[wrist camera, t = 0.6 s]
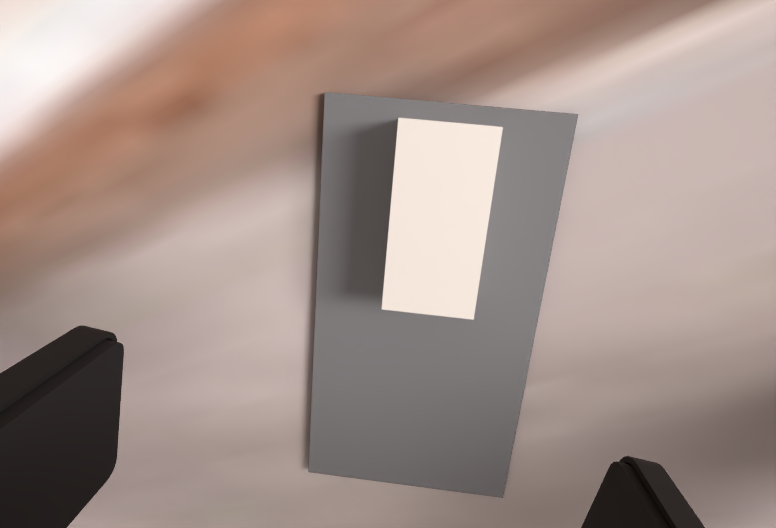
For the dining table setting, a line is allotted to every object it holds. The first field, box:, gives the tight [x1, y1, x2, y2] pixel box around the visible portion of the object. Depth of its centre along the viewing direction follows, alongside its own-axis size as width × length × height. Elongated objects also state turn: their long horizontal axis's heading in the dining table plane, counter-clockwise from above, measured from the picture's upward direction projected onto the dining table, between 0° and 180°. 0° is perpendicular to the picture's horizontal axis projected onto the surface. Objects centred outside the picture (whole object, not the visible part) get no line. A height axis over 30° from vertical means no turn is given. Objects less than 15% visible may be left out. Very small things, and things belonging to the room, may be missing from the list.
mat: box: [309, 92, 578, 498], centre depth 30 cm, size 14×26×1 cm, turn 175°
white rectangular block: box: [382, 118, 503, 320], centre depth 26 cm, size 5×10×4 cm, turn 175°
